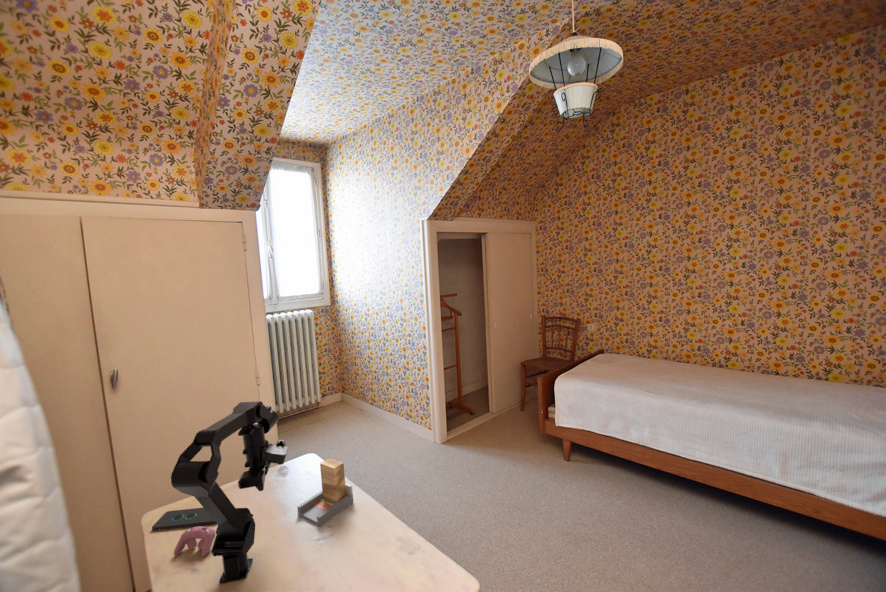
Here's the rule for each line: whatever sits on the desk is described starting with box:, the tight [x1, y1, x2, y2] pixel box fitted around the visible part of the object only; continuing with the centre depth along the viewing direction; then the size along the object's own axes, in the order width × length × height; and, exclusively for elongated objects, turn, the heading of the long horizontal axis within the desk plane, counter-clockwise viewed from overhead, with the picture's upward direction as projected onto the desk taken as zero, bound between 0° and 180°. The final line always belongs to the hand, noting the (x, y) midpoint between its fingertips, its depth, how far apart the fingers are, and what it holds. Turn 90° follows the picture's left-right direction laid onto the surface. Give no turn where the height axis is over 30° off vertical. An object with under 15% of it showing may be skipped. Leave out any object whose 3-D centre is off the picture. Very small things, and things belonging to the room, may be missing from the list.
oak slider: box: [319, 457, 346, 504], centre depth 129 cm, size 4×7×12 cm, turn 56°
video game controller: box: [173, 525, 216, 557], centre depth 111 cm, size 10×5×7 cm, turn 85°
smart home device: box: [151, 507, 218, 531], centre depth 126 cm, size 8×2×20 cm
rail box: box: [296, 482, 354, 528], centre depth 127 cm, size 14×11×6 cm
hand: (261, 490), depth 117 cm, fingers closed
